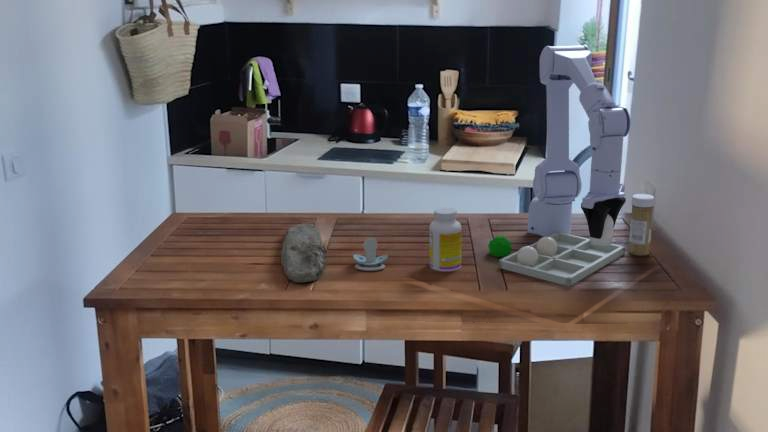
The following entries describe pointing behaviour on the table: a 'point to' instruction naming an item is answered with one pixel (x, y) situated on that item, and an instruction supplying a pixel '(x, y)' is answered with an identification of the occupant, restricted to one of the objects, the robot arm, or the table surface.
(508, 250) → the polyhedron
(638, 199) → the sprinkles bottle
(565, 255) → the egg tray
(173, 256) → the table surface
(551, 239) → the cream egg middle
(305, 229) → the long grey stone
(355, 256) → the pacifier
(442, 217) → the supplement bottle
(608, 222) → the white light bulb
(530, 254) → the cream egg front
